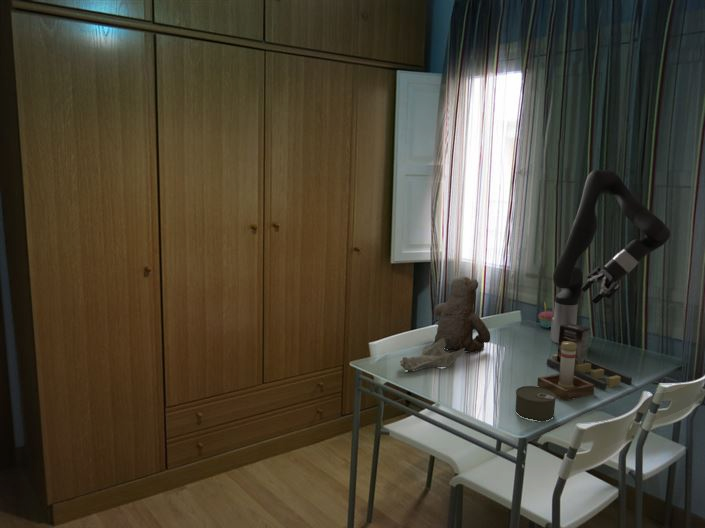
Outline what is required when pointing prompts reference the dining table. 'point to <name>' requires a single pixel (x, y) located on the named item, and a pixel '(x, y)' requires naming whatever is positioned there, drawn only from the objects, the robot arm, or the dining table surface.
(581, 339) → the coffee box
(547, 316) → the cupcake
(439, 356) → the skull
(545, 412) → the can
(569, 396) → the tray
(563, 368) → the fuse
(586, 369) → the block
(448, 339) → the toy
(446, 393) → the dining table surface
